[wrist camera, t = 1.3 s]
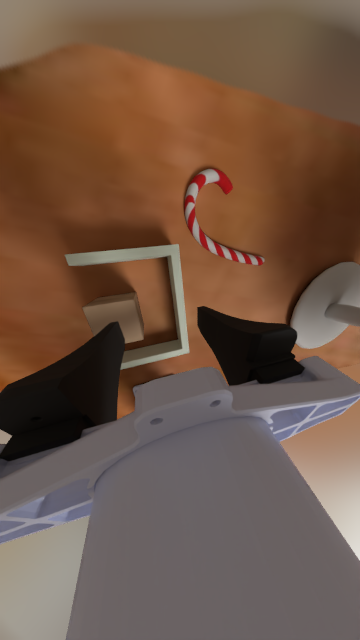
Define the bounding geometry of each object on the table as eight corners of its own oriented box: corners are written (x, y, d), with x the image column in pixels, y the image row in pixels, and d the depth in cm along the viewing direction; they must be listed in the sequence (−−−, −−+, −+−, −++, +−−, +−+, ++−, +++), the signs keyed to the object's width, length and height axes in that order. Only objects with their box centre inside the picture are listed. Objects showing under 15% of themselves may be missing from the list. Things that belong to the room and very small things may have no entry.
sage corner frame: (184, 342, 24) (189, 352, 21) (116, 358, 21) (111, 371, 19) (173, 247, 18) (178, 244, 15) (78, 256, 16) (64, 254, 13)
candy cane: (253, 281, 22) (173, 221, 16) (247, 281, 23) (171, 224, 17) (283, 234, 20) (206, 148, 14) (275, 236, 21) (201, 157, 16)
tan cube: (143, 323, 21) (143, 339, 16) (109, 330, 20) (99, 349, 15) (136, 291, 19) (133, 299, 14) (98, 297, 18) (82, 307, 13)
